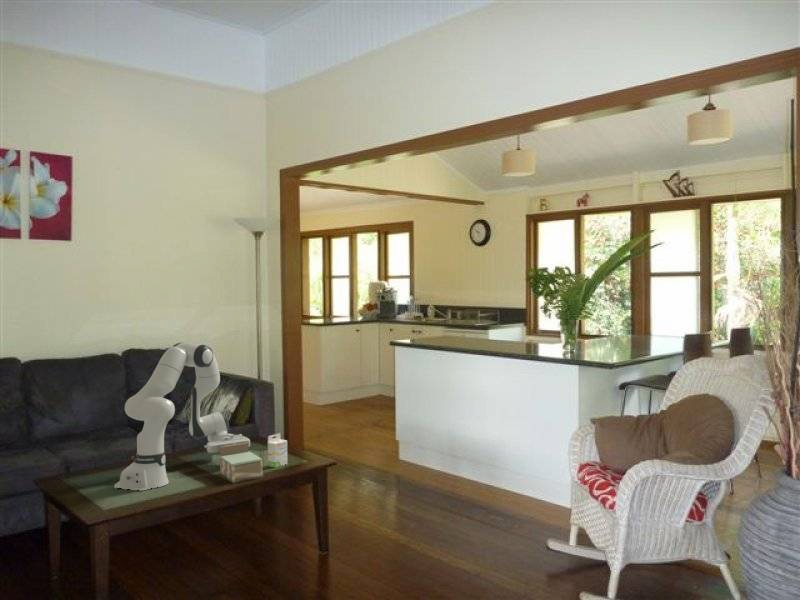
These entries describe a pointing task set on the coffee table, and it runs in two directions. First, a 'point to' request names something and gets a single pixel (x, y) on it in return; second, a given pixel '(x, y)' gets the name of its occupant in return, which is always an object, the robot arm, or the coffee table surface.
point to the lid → (238, 454)
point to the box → (241, 471)
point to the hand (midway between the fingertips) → (233, 448)
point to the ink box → (277, 451)
